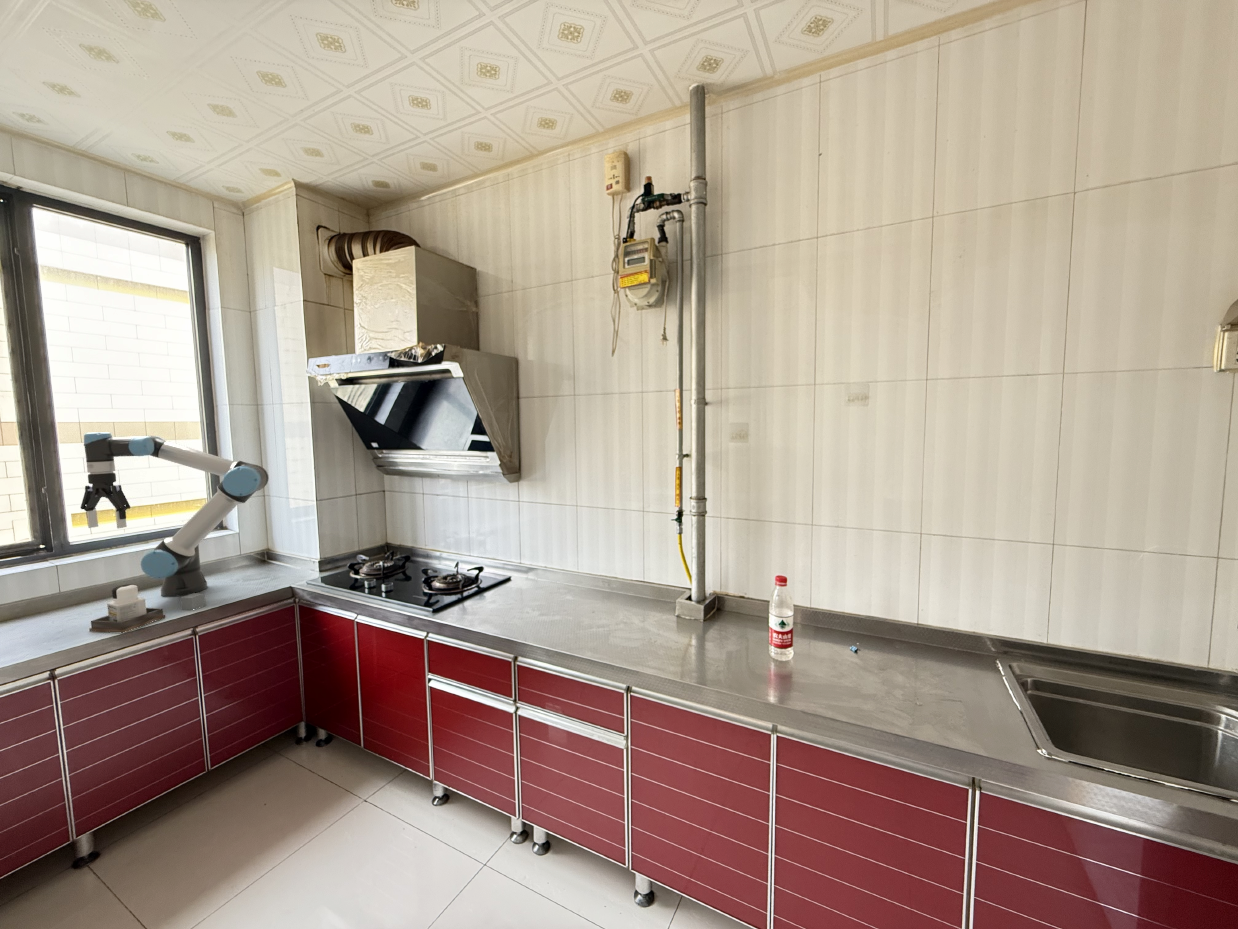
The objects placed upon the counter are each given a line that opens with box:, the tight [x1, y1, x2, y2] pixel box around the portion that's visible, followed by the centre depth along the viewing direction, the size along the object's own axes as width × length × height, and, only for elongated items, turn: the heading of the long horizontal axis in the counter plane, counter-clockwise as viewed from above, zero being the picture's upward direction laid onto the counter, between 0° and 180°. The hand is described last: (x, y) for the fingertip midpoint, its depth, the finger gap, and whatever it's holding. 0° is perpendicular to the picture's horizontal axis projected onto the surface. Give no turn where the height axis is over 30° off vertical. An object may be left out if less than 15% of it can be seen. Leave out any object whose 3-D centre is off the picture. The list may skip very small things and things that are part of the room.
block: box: [179, 592, 206, 611], centre depth 197 cm, size 5×5×5 cm
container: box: [106, 583, 147, 622], centre depth 181 cm, size 8×8×13 cm
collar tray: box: [89, 607, 166, 634], centre depth 182 cm, size 14×14×4 cm
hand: (107, 527), depth 197 cm, fingers open, 13 cm apart
